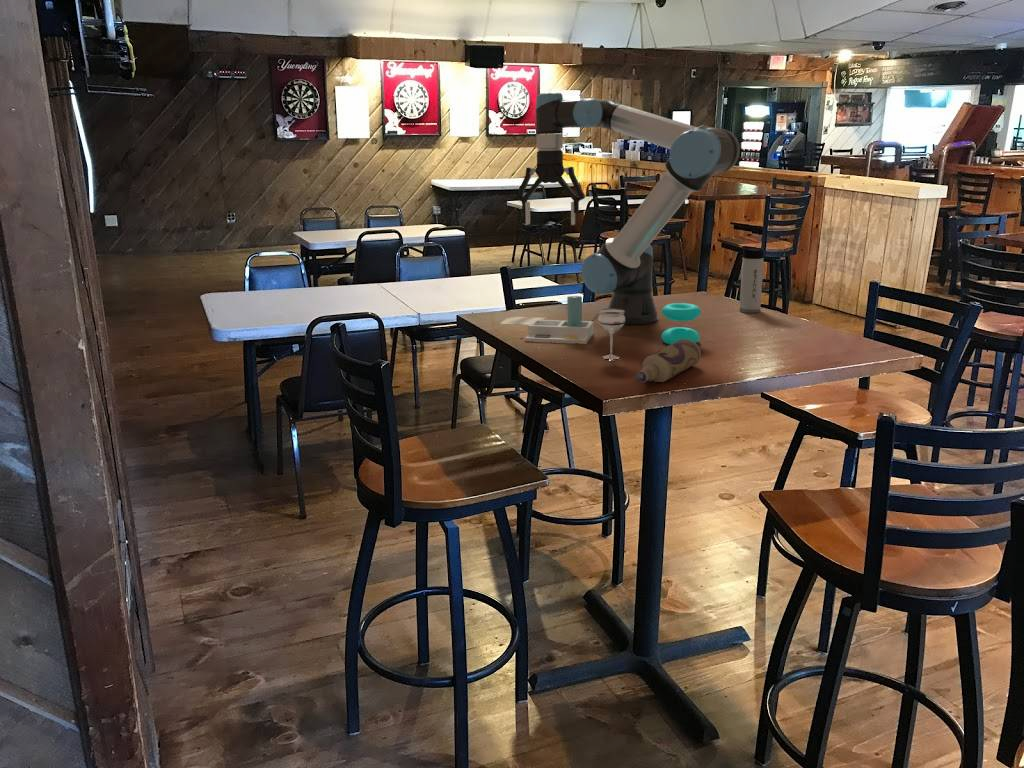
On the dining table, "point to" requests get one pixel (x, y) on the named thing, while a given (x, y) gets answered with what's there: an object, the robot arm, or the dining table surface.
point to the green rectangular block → (574, 311)
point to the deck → (520, 320)
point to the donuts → (680, 314)
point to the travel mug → (751, 279)
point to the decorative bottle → (669, 361)
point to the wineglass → (611, 325)
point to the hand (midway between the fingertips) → (550, 224)
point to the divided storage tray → (559, 332)
